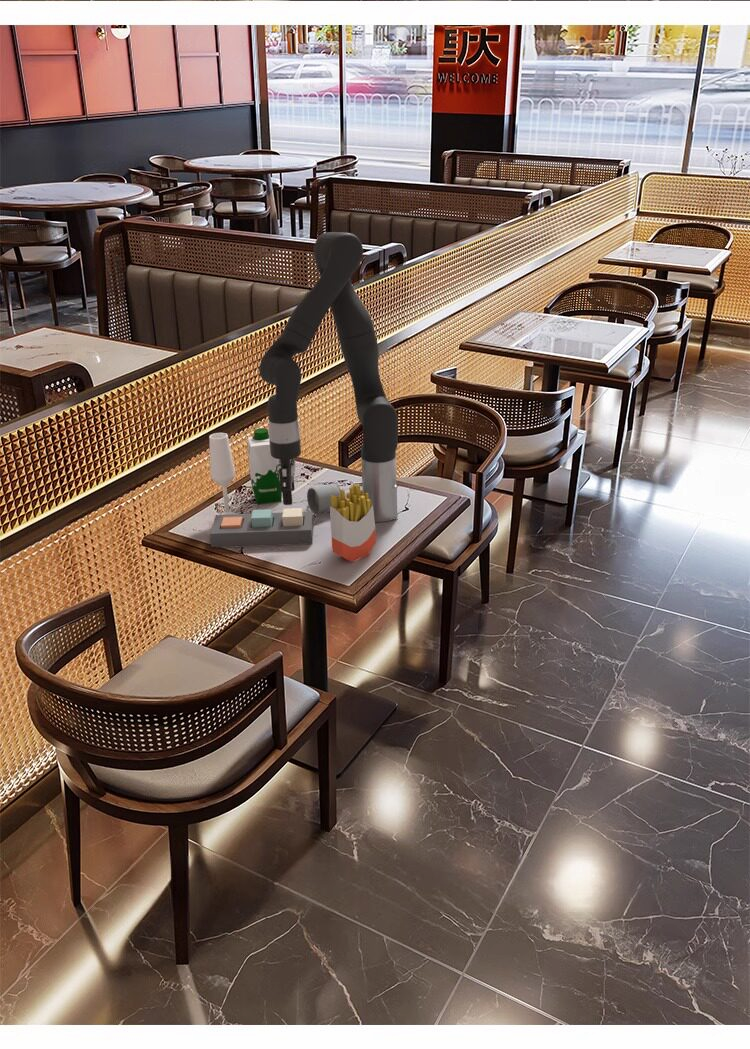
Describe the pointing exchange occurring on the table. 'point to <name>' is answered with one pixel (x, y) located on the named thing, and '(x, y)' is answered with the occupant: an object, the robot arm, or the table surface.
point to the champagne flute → (221, 464)
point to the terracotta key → (231, 522)
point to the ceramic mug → (322, 497)
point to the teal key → (262, 518)
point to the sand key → (292, 517)
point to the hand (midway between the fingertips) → (289, 497)
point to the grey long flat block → (262, 532)
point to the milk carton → (263, 468)
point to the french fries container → (352, 524)
